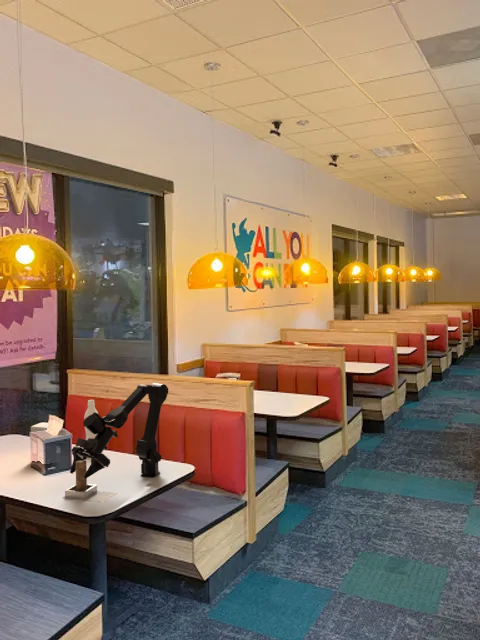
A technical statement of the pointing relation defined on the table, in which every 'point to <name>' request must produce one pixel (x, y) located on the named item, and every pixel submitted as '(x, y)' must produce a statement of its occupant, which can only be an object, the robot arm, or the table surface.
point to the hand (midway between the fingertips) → (77, 475)
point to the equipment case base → (97, 496)
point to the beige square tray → (81, 492)
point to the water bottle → (89, 412)
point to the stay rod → (81, 475)
